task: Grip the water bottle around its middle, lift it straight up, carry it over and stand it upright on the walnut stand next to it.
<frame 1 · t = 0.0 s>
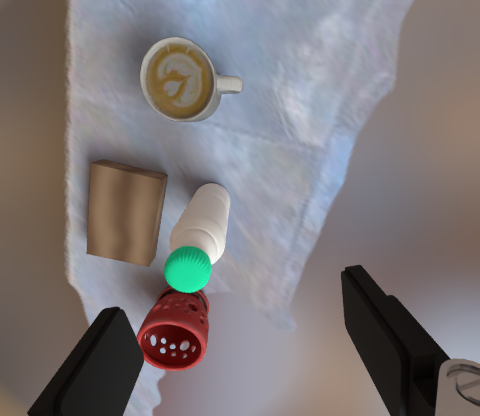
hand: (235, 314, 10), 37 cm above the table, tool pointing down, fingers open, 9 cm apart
plant pot: (184, 302, 56), on the table
water bottle: (212, 199, 48), on the table
walnut stand: (131, 211, 48), on the table
coffee mug: (202, 92, 42), on the table
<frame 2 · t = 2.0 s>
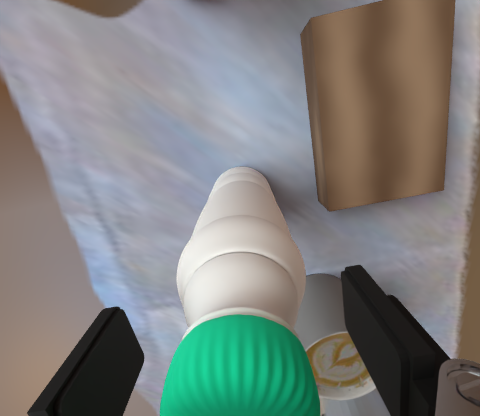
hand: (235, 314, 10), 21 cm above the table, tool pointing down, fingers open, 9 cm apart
water bottle: (241, 193, 30), on the table
walnut stand: (364, 114, 27), on the table
coffee mug: (304, 304, 36), on the table
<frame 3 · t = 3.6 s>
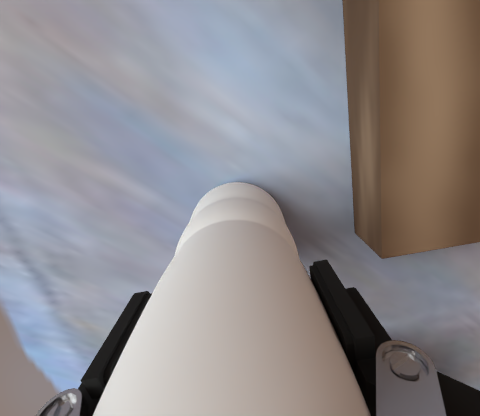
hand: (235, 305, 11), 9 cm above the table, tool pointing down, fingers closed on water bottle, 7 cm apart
water bottle: (237, 222, 20), on the table, touching gripper
walnut stand: (438, 98, 16), on the table
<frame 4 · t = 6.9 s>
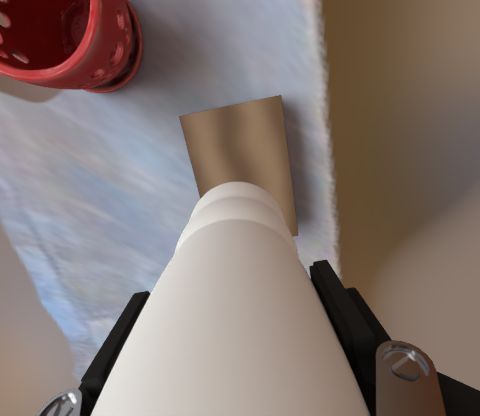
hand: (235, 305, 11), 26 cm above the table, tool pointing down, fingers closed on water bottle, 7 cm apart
plant pot: (99, 37, 29), on the table
water bottle: (237, 221, 20), point 16 cm above the table, touching gripper
walnut stand: (243, 174, 35), on the table
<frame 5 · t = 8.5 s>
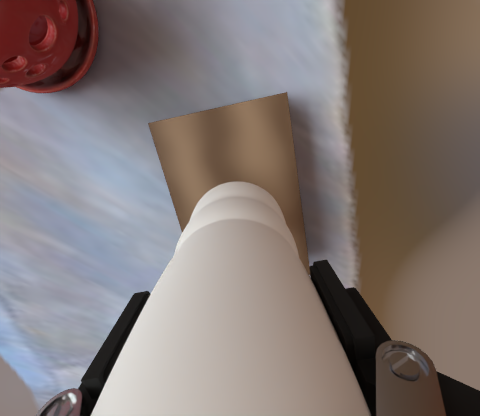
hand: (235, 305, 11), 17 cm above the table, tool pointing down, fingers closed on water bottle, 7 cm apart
plant pot: (41, 19, 22), on the table
water bottle: (237, 221, 20), point 8 cm above the table, touching gripper
walnut stand: (238, 195, 27), on the table
when the fingers open (15 cm above the table, at t = 10.0 s): water bottle drops 1 cm, resting on walnut stand.
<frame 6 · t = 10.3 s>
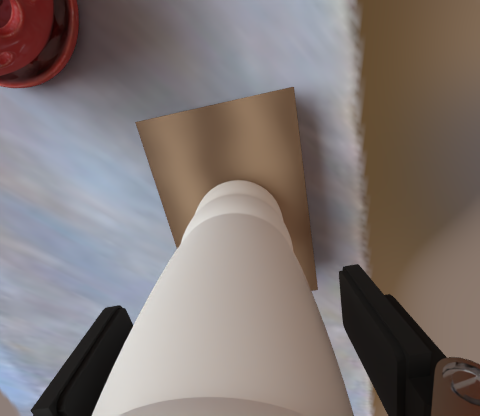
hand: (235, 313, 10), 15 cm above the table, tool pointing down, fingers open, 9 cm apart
plant pot: (14, 4, 19), on the table
water bottle: (239, 217, 21), point 4 cm above the table, touching walnut stand
walnut stand: (238, 201, 25), on the table
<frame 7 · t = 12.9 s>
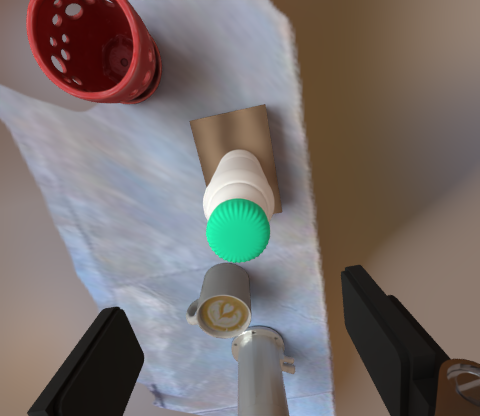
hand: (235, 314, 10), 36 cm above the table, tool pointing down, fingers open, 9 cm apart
plant pot: (128, 62, 39), on the table
water bottle: (239, 170, 41), point 4 cm above the table, touching walnut stand
walnut stand: (238, 165, 44), on the table
coffee mug: (219, 283, 53), on the table
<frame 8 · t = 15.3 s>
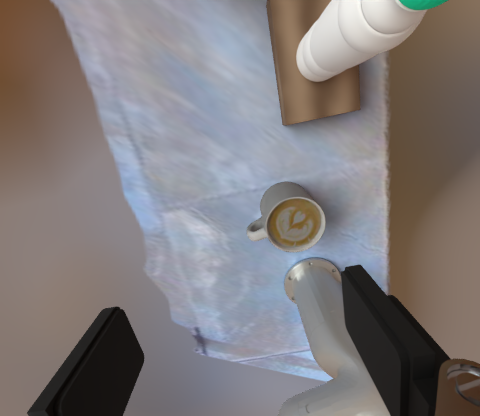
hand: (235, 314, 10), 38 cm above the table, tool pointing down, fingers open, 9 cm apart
water bottle: (318, 56, 37), point 4 cm above the table, touching walnut stand
walnut stand: (310, 61, 41), on the table
coffee mug: (276, 207, 50), on the table
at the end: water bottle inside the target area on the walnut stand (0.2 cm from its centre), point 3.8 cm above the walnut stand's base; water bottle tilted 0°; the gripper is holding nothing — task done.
